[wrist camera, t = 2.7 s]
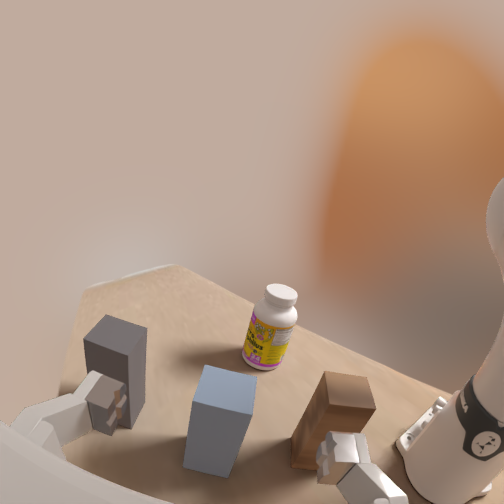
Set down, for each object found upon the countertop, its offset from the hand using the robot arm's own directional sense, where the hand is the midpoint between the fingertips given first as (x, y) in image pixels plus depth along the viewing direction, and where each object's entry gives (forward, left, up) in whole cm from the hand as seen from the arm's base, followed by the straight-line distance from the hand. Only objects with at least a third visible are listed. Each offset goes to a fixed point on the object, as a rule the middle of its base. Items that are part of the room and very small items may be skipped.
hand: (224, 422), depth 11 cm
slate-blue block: (-9, -8, -22) cm, 25 cm away
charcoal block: (-4, -19, -22) cm, 29 cm away
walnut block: (-19, -1, -22) cm, 29 cm away
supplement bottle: (-28, -18, -22) cm, 40 cm away
